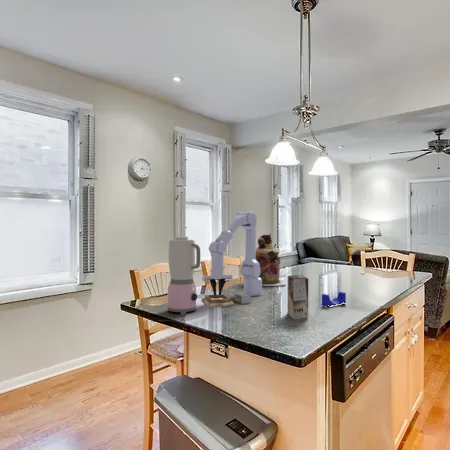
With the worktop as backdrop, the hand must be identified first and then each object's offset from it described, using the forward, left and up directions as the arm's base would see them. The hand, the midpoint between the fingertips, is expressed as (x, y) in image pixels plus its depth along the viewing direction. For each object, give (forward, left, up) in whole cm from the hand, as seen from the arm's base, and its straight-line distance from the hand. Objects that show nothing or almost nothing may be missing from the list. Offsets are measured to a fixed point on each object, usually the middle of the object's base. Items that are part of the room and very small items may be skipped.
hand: (217, 295), depth 162 cm
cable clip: (-50, +19, -4) cm, 54 cm away
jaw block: (-12, +2, -4) cm, 13 cm away
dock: (0, 0, -4) cm, 4 cm away
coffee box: (-26, +32, -4) cm, 41 cm away
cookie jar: (-42, -45, -4) cm, 61 cm away
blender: (+17, +13, -4) cm, 22 cm away
